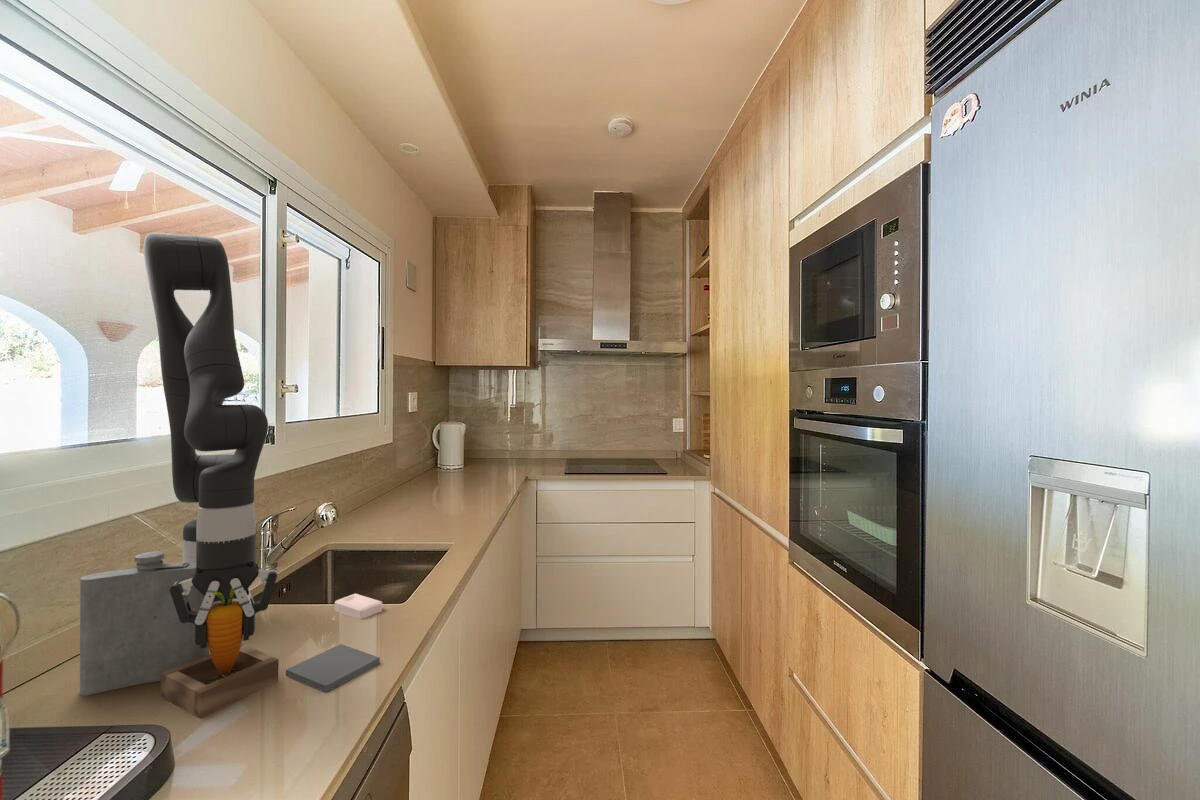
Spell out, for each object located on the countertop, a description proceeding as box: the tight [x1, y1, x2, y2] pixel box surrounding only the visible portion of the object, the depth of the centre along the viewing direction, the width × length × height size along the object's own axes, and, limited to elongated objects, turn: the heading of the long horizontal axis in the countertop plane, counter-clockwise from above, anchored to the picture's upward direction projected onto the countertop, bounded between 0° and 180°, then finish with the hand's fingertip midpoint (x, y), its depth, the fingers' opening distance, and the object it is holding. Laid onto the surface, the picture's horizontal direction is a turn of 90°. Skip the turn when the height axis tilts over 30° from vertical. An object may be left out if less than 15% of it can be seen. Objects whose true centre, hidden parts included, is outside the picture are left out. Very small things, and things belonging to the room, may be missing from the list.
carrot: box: [206, 588, 245, 677], centre depth 82 cm, size 5×5×15 cm
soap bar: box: [334, 593, 383, 620], centre depth 111 cm, size 5×9×2 cm, turn 61°
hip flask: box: [79, 550, 210, 696], centre depth 84 cm, size 16×4×20 cm, turn 117°
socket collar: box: [160, 643, 279, 719], centre depth 81 cm, size 11×11×4 cm
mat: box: [285, 643, 381, 693], centre depth 88 cm, size 10×10×1 cm
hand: (226, 641), depth 82 cm, fingers closed on carrot, 4 cm apart
